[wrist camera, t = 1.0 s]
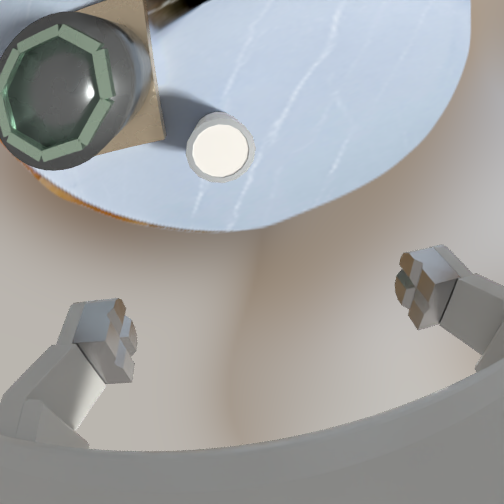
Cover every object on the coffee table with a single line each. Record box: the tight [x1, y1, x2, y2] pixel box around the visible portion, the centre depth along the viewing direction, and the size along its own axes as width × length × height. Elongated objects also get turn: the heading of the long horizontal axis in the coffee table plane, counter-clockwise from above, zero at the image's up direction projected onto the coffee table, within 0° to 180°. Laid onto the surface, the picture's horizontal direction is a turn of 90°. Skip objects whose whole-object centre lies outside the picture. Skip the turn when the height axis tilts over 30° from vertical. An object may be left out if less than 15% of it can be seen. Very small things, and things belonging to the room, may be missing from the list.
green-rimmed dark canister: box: [0, 0, 166, 170], centre depth 23 cm, size 18×14×13 cm
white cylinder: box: [186, 112, 256, 183], centre depth 32 cm, size 7×7×7 cm
